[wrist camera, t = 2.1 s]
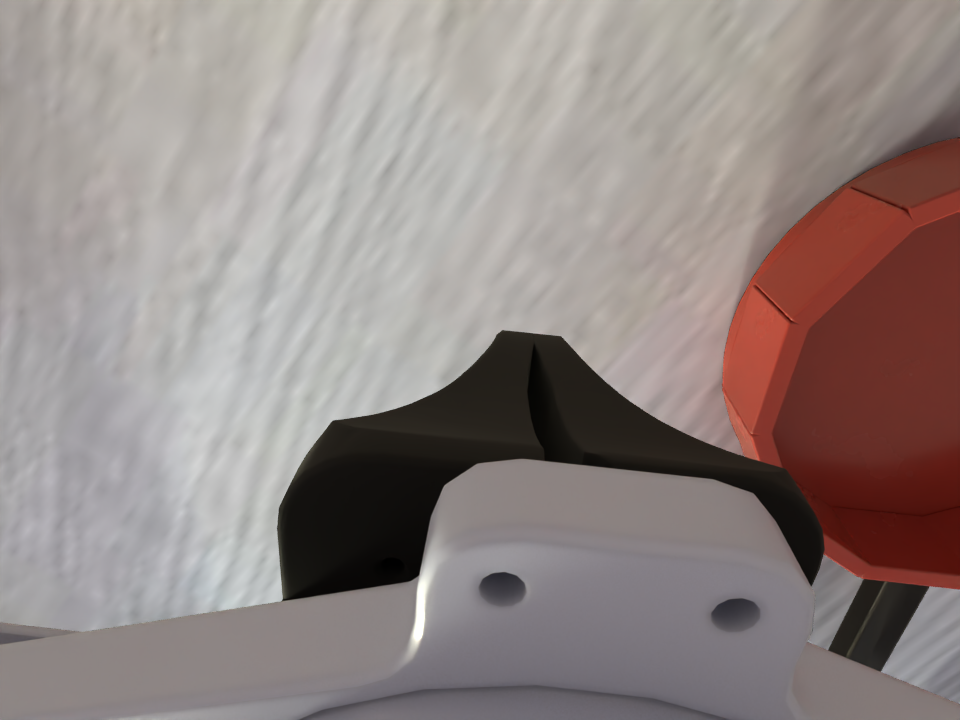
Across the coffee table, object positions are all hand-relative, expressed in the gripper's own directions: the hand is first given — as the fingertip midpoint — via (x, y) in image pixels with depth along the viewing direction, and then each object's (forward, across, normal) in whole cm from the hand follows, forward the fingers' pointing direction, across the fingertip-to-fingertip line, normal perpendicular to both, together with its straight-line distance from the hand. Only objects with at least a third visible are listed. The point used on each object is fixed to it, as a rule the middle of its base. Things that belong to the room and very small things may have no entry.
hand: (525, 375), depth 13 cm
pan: (+4, -11, +3) cm, 12 cm away
